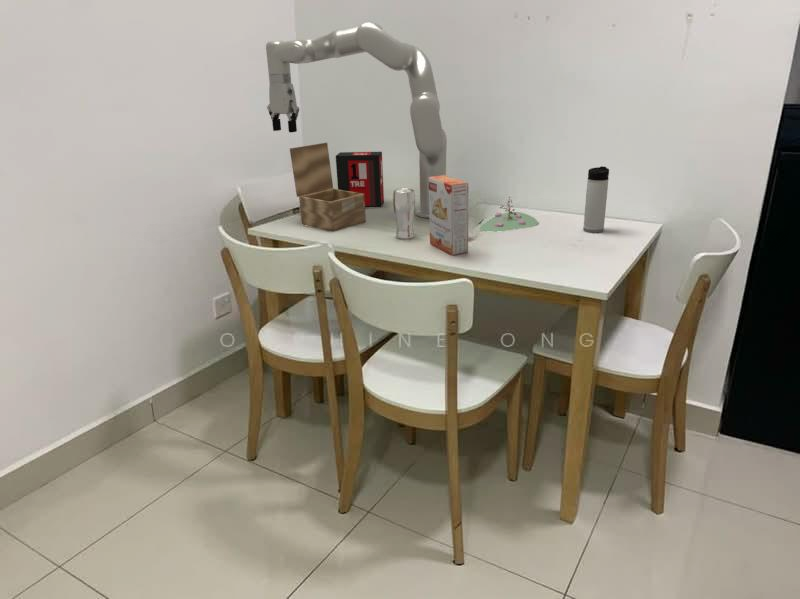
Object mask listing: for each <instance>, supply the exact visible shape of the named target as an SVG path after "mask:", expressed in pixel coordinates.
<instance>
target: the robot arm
mask: <svg viewBox="0 0 800 599" xmlns="http://www.w3.org/2000/svg"><path fill="white" fill-rule="evenodd" d="M265 49H266V53H265V54H266V61H267V63H266V64H267V70H268V81H269V88H268V91H269V92H268V93H269V95H268V98H269V104H268V105H267V106H266V109H267V111H268V114H269V116H270V119H271V122H272V130H273V132H280V131H281V130H282V126H281V125H282V124H281V118H280V116H281V115H286V116H287V119H288V120H287V125H288V126H287V127H288V128H287V129H288V133H296V132H297V131H298V130H297V120H298V116H299V112H300V107H299V106H298V105H297V104H298V103H297V97H296V93H295V92H296V91H295V87H294V84H293V83H292V76H291V64H297V65H301V64H310V63H315V62H319V61H325V60H328V59H339V58H343V57H348V56H353V55H357V54H362V53H367V54H368V55H370V56H372V57H373V58H374V59H376V60H377V61H379V62H381V63H382V64H383V65H384V66H386V67H388V68H389V69H391V70H394V71H398V72H399V71H405V73H406V74H407V78H408V83H409V88H410V94H411V100H412V101H411V103H410V107H409V114H410V120H411V125H412V129H413V130H412V131H413V135H414V140H415V145H416V148H417V150H418V152H419V157H418V158H419V159H418V160H419V161H418V163H419V164H418V165H419V173H418V174H419V209H417V210H415V214H416V216H417V217H420V218H425V219H429V177H433V176H441V175H446V176H447V148H448V146H447V140H448V139H447V134H446V132H445V130H444V129H443V126H442V121H441V120H442V119H441V115H440V111H441V106H440V101H439V98H438V93H437V88H436V83H435V77H434V73H433V69H432V66H431V65H432V64H431V62H430V60H429V58H428V56H427V55H426V54H425V53H424V52H423V50H422V49H420V48H419V47H417V46H415V45H413V44H409V43H406V42H401V41H399V40H398V39H397V38H395V37H393V36H392V35H391V34H389V33H388V32H386V31H385V30H383V26H381V25H380V24H378V23H376V22H373V21H365V22H363V23H360V25H355V26H354V25H353V26H350V27H345V28H340V29H335V30H332V31H331V32H330V33H328V34H326V35H322V36H319V37H314V38H308V39H292V40H288V41H282V40H279V41H276V40H275V41H268V42H267V43H266V44H265Z"/></svg>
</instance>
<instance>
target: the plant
mask: <svg viewBox="0 0 800 599" xmlns="http://www.w3.org/2000/svg"><path fill="white" fill-rule="evenodd" d="M510 198H511V196H508V200H507V203H506V204H507V206H506V207H505V206H504V205H501V206H500V207H499V209H502V210H505V211H504V212H506V213H502V212H496V214H494V215H495V217H493V218H492V219H490V220H489V221H487V222H486V223H485V224H483V225H482V226H481V227H480V228H479V229H480V230H481V231H480V232H487V231H492V232H491V233H498V232H497V231H502V232H507V231H506V230H509V231H514V230H513V229H515V230H520V229H519V228H522V229H526V228H527V227H529V228H534V227H536V226H538V225H539V221H538V220H537V219H536V218H535V217H533V216H531V215H529V214H527V213H525V212H521V211H515V210H516V209H514V208H513V209H512V207H514V205H510V204H509V203H513V200H512V199H510ZM511 209H512V211H511ZM527 229H528V228H527ZM493 231H494V232H493Z"/></svg>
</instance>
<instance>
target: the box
mask: <svg viewBox="0 0 800 599" xmlns="http://www.w3.org/2000/svg"><path fill="white" fill-rule="evenodd" d="M298 198H299V199H298V200H299V210H300V221H301V225H302V224H303V225H302V226H305V225H307V226H306V227H310V226H311V227H310V228H314V227H315V228H314V229H318V228H319V230H322V231H327V232H331V233H333V232H337V231H339V230H343V229H346V228H349V227H353V226H356V225H357V226H358V225H359V224H363V223H366V221H367V220H366V219H367V218H366V208H365V198H364V194H362V193H356V192H350V191H344V190H338V188H333V189H329V190H325V191H321V192H317V193H312V194H308V195H304V196H299V197H298Z"/></svg>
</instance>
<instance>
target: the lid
mask: <svg viewBox="0 0 800 599" xmlns="http://www.w3.org/2000/svg"><path fill="white" fill-rule="evenodd" d="M289 152H290V153H289V154H290V161H291V166H292V167H291V168H292V172H293V173H292V174H293V180H294V186H295V188H294V189H295V192H296V197H297V198H299V197H300V196H304V195H308V194H313V193H317V192H321V191H326V190H330V189H334V185H333V177H332V169H331V162H330V160H331V159H330V154H329V145H328V142H322V143H316V144H311V145H303V146H296V147H291V148H290V147H289Z"/></svg>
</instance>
